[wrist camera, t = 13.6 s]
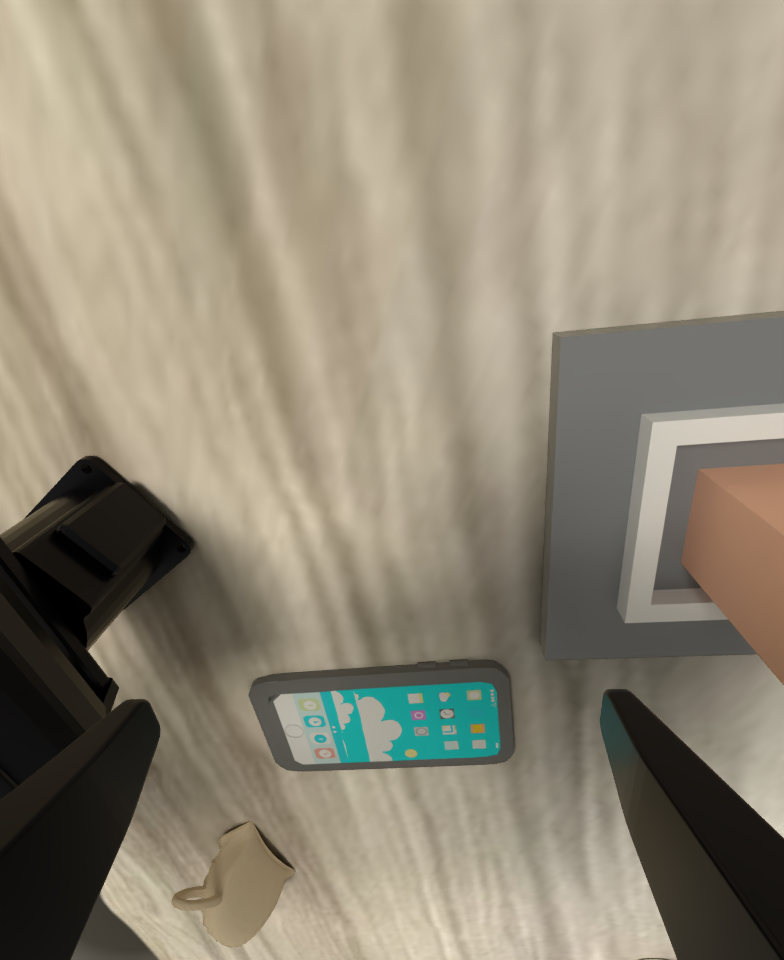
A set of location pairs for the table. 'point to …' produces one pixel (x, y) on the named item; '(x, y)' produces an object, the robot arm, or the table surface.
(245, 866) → the beige creamer pitcher
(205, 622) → the table surface
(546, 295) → the table surface
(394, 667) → the smartphone
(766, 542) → the terracotta block
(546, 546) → the dock board
